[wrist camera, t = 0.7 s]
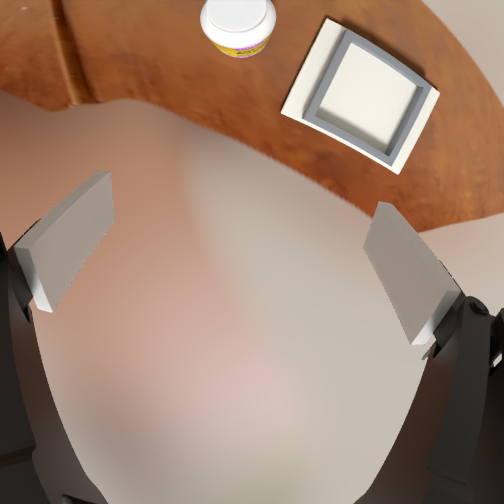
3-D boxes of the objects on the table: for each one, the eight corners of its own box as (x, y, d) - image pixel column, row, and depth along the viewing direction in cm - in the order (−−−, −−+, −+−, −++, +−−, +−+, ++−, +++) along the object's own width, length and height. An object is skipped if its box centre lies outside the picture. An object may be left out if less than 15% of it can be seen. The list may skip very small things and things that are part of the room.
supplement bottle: (236, 68, 29) (226, 58, 18) (201, 31, 26) (174, 5, 15) (281, 38, 26) (297, 13, 16) (247, 1, 23) (244, -39, 13)
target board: (280, 112, 32) (282, 114, 30) (325, 19, 25) (330, 15, 23) (395, 172, 35) (402, 178, 33) (436, 92, 28) (446, 94, 26)
